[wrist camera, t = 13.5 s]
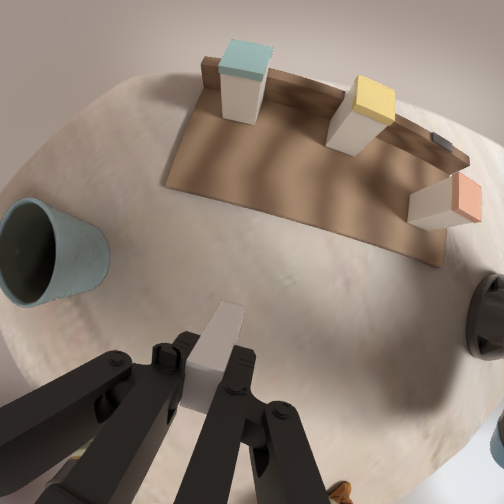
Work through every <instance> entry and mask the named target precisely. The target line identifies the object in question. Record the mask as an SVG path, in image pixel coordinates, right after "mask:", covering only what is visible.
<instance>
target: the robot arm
mask: <svg viewBox="0 0 504 504" xmlns="http://www.w3.org/2000/svg"><path fill="white" fill-rule="evenodd" d="M245 309H246V307H244V306H241V305H237V304H233V303H230V302H226V301H223V300H222V301H221V302H220V304H219V306H218V308H217V309H216V311H215V313H214V314H213V316H212V318H211V319H210V321H209V323H208V324H207V326H206V328H205V330H204V331H203V333H202V335H201V336H200V335H197V334H194V333H191V332H188V331H185V332H183V333H181V334H179V335H178V337H177V338H176V339H175V341H174V342H173V344H170V343H160V344H156V345H155V346H154V347H153V352H152V363H151V364H150V365H141V364H136V363H132V359H131V357H130V356H129V355H128V354H126V353H124V352H122V351H117V350H114V351H108V352H106V353H104V354H102V355H100V356H98V357H96V358H94V359H93V360H91V361H89V362H87V363H85V364H83V365H81V366H79V367H78V368H76V369H74V370H72V371H70V372H68V373H66V374H64V375H63V376H61V377H59V378H57V379H55V380H53V381H51V382H49V383H47V384H45V385H44V386H42V387H40V388H38V389H36V390H34V391H32V392H30V393H28V394H26V395H24V396H22V397H20V398H19V399H16V400H14V401H12V402H11V403H9V404H7V405H5V406H3V407H1V408H0V497H3V496H6V495H9V494H11V493H13V492H15V491H17V490H19V489H20V488H22V487H24V486H25V485H27V484H28V483H30V482H31V481H33V480H34V479H36V478H37V477H39V476H40V475H42V474H43V473H45V472H46V471H48V470H49V469H50V468H52V467H53V466H55V465H56V464H58V463H59V462H60V461H62V460H63V459H65V458H66V457H68V456H69V455H70V454H72V453H73V452H74V451H76V450H77V449H79V448H80V447H81V446H83V445H84V444H85V443H87V442H88V441H89V440H91V439H92V438H93V437H95V436H96V435H97V436H96V437H95V438H94V440H93V441H92V442H91V444H90V445H89V447H88V448H87V449H86V451H85V452H84V453H83V455H82V456H81V457H80V459H79V460H78V461H77V463H76V464H75V466H74V467H73V468H72V470H71V471H70V472H69V474H68V475H67V477H66V478H65V479H64V480H63V481H62V482H61V483H53V484H51V485H49V486H48V487H47V488H46V489H45V490H44V492H43V493H42V494H41V496H40V497H39V498H38V500H37V501H36V502H35V504H132V502H133V500H134V498H135V496H136V494H137V492H138V490H139V488H140V486H141V484H142V482H143V480H144V478H145V476H146V474H147V472H148V470H149V468H150V466H151V464H152V462H153V460H154V458H155V456H156V454H157V452H158V450H159V448H160V446H161V443H162V441H163V439H164V437H165V435H166V433H167V431H168V429H169V427H170V425H171V423H172V421H173V419H174V417H175V415H176V412H177V406H178V404H179V402H180V406H183V407H185V408H188V409H191V410H195V411H198V412H201V413H204V414H207V416H206V419H205V422H204V424H203V427H202V430H201V432H200V435H199V438H198V440H197V443H196V446H195V448H194V451H193V454H192V456H191V459H190V462H189V464H188V467H187V470H186V472H185V475H184V477H183V480H182V483H181V485H180V488H179V491H178V493H177V496H176V498H175V501H174V503H173V504H227V501H228V497H229V493H230V488H231V484H232V479H233V475H234V470H235V466H236V461H237V456H238V452H239V447H240V442H242V443H244V444H246V445H248V446H249V453H250V459H251V465H252V472H253V478H254V484H255V490H256V495H257V501H258V504H331V503H330V500H329V497H328V495H327V492H326V489H325V486H324V484H323V481H322V478H321V475H320V473H319V470H318V467H317V464H316V462H315V459H314V456H313V453H312V451H311V448H310V445H309V442H308V440H307V437H306V434H305V431H304V428H303V426H302V423H301V420H300V417H299V414H298V412H297V410H296V409H295V408H294V407H293V406H292V405H291V404H289V403H286V402H283V401H272V402H270V403H268V404H266V403H264V402H261V401H260V400H258V399H257V398H256V397H254V395H253V394H252V393H251V390H250V386H251V381H252V376H253V370H254V365H255V360H256V355H255V353H254V351H253V350H252V349H248V348H244V347H241V346H237V345H236V344H237V340H238V336H239V332H240V328H241V325H242V321H243V317H244V313H245ZM467 343H468V347H469V350H470V352H471V354H472V355H473V356H474V357H476V358H478V359H482V360H485V361H491V360H498V359H504V275H503V274H491V275H489V276H487V277H486V278H484V279H483V280H482V282H481V283H480V284H479V286H478V288H477V289H476V292H475V294H474V296H473V299H472V302H471V305H470V309H469V313H468V319H467ZM180 400H181V401H180ZM490 451H491V454H492V457H493V458H494V460H495V461H496V463H497V464H498V465H499V466H500V467H502V468H503V469H504V410H503V412H502V414H501V416H500V417H499V419H498V422H497V426H496V429H495V431H494V433H493V436H492V437H491V441H490Z"/></svg>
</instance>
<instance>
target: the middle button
mask: <svg viewBox="0 0 504 504" xmlns="http://www.w3.org/2000/svg"><path fill="white" fill-rule="evenodd" d="M394 121H395V91H394V90H392V89H390V88H388V87H386V86H384V85H382V84H380V83H377V82H375V81H373V80H371V79H368V78H366V77H364V76H361V75H358V76H357V78H356V79H355V82H354V85H353V86H352V88H351V89H350V91H349V92H348V94H347V95H346V97H345V99H344V100H343V102H342V103H341V105H340V106H339V108H338V109H337V111H336V112H335V114H334V115H333V117H332V119H331V120H330V123H329V129H328V134H327V140H326V145H325V146H326V147H329V148H332V149H335V150H338V151H340V152H343V153H346V154H349V155H351V156H354V157H355V156H356V155H357V154H358V153H359V152H360V151H361V150H362V149H363V148H364V147H365V146H366V145H368V144H369V143H370V142H371V141H372V140H373V139H374V138H375V137H376V136H377V135H378V134H379V133H380V132H381V131H382V130H384V129H385V128H386V127H387V126H390V125H391V124H392V123H393V122H394Z"/></svg>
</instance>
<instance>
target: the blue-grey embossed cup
mask: <svg viewBox="0 0 504 504" xmlns="http://www.w3.org/2000/svg"><path fill="white" fill-rule="evenodd" d="M109 263H110V250H109V246H108V243H107V240H106V238H105V237H104V235H103V234H102V232H101V231H100V230H99V229H98V228H96V227H95V226H93V225H91V224H89V223H86V222H83V221H81V220H79V219H76V218H75V217H73V216H71V215H69V214H67V213H64V212H62V211H60V210H58V209H55V208H53V207H52V206H50V205H48V204H46V203H44V202H42V201H40V200H38V199H36V198H32V197H28V198H23V199H20V200H18V201H17V202H15V203H14V204H13V205H12V206H11V207H10V208H9V209H8V210H7V211H6V213H5V214H4V216H3V218H2V220H1V222H0V287H1V289H2V291H3V292H4V294H5V295H6V296H7V297H8V298H9V299H10V300H11V302H12V303H14V304H16V305H18V306H20V307H24V308H30V307H34V306H37V305H41V304H44V303H47V302H49V301H51V300H55V299H56V298H65V297H68V296H72V295H74V294H79V293H83V292H87V291H90V290H92V289H94V288H96V287H97V286H98V285H99V284H100V283H101V282H102V281H103V279H104V278H105V276H106V274H107V272H108V268H109Z"/></svg>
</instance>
